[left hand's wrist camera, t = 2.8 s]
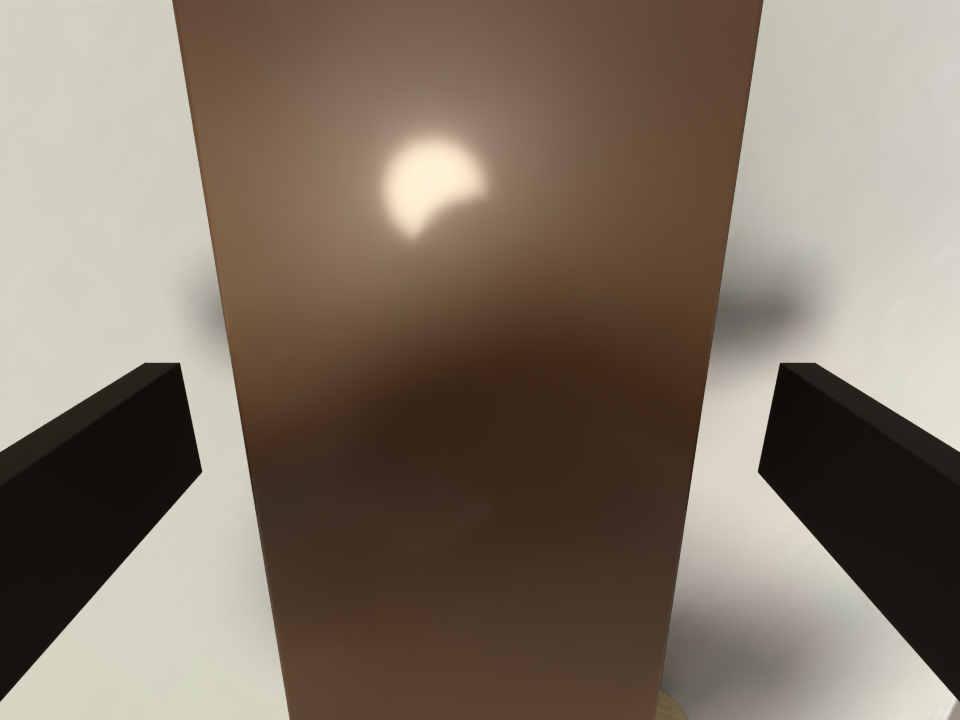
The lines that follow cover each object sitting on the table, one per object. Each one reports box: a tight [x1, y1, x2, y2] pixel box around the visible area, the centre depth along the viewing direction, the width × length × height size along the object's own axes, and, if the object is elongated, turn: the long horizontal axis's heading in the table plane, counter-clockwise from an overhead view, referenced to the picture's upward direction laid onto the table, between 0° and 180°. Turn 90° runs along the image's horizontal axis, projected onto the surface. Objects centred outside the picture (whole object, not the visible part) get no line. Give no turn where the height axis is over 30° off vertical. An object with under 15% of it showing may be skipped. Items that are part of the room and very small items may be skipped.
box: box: [172, 0, 763, 720], centre depth 11 cm, size 22×6×12 cm, turn 0°
